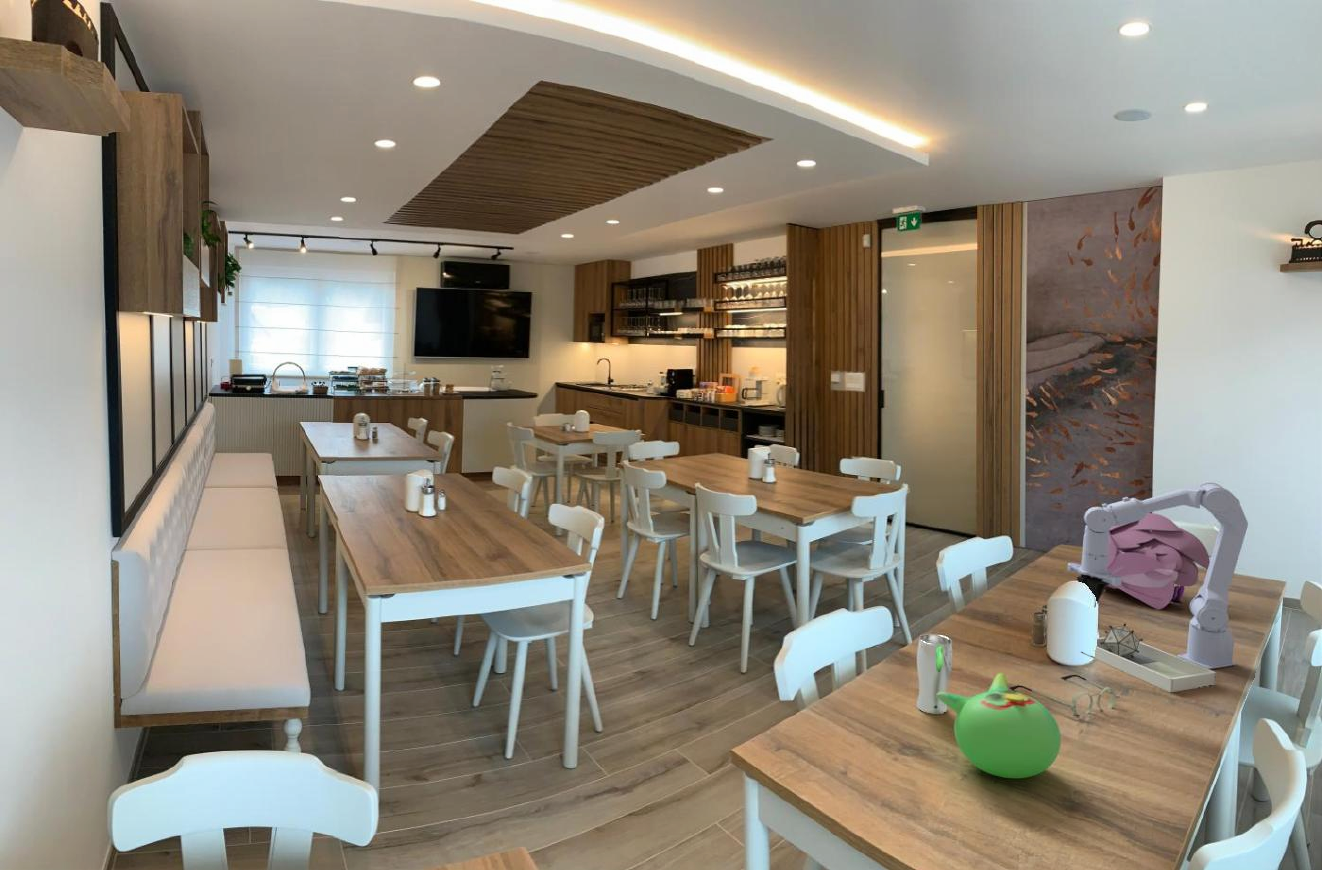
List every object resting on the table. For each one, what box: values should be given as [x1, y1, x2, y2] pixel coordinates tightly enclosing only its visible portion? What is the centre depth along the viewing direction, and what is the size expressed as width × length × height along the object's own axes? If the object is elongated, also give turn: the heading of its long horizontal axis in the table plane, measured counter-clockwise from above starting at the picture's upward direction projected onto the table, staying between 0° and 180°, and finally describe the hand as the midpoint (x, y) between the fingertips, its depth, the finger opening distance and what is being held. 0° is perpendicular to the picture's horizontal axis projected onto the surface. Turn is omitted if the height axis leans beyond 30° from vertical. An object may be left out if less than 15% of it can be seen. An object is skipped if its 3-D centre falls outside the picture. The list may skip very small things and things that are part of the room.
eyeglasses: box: [1009, 674, 1121, 717], centre depth 162 cm, size 17×15×5 cm
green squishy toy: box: [936, 672, 1062, 779], centre depth 133 cm, size 18×17×15 cm
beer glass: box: [915, 633, 953, 715], centre depth 155 cm, size 7×7×15 cm
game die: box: [1100, 622, 1144, 658], centre depth 185 cm, size 9×8×10 cm
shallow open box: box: [1094, 636, 1217, 693], centre depth 179 cm, size 14×24×3 cm, turn 18°
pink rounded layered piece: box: [1080, 512, 1211, 610], centre depth 233 cm, size 35×24×28 cm
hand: (1091, 604), depth 193 cm, fingers closed
